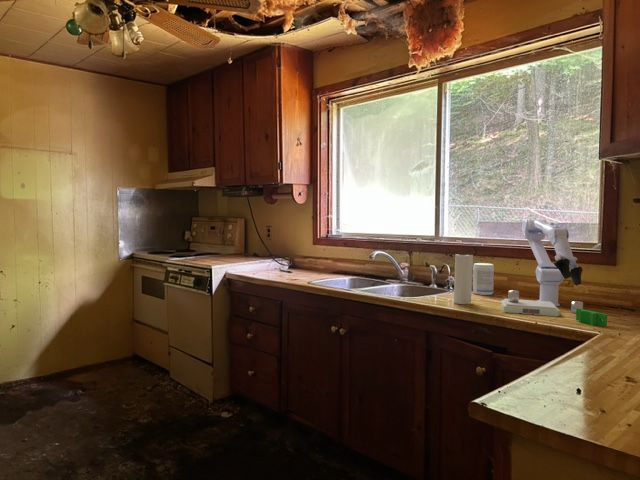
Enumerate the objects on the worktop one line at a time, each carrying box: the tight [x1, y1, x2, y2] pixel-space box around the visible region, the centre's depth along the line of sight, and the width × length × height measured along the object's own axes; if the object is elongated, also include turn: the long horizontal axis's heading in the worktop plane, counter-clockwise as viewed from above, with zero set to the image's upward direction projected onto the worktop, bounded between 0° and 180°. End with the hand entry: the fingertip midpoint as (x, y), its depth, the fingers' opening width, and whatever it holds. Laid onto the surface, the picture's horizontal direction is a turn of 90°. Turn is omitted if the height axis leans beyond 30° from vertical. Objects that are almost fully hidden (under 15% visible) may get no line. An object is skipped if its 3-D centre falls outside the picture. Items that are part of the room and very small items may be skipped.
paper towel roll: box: [453, 253, 474, 305], centre depth 203 cm, size 7×6×21 cm
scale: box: [500, 298, 560, 317], centre depth 191 cm, size 15×20×3 cm
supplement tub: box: [472, 262, 495, 296], centre depth 229 cm, size 10×10×15 cm
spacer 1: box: [507, 289, 520, 303], centre depth 193 cm, size 4×4×4 cm
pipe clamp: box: [575, 308, 608, 328], centre depth 170 cm, size 11×4×5 cm, turn 25°
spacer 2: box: [570, 300, 584, 315], centre depth 188 cm, size 4×4×4 cm
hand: (572, 281), depth 185 cm, fingers open, 7 cm apart
